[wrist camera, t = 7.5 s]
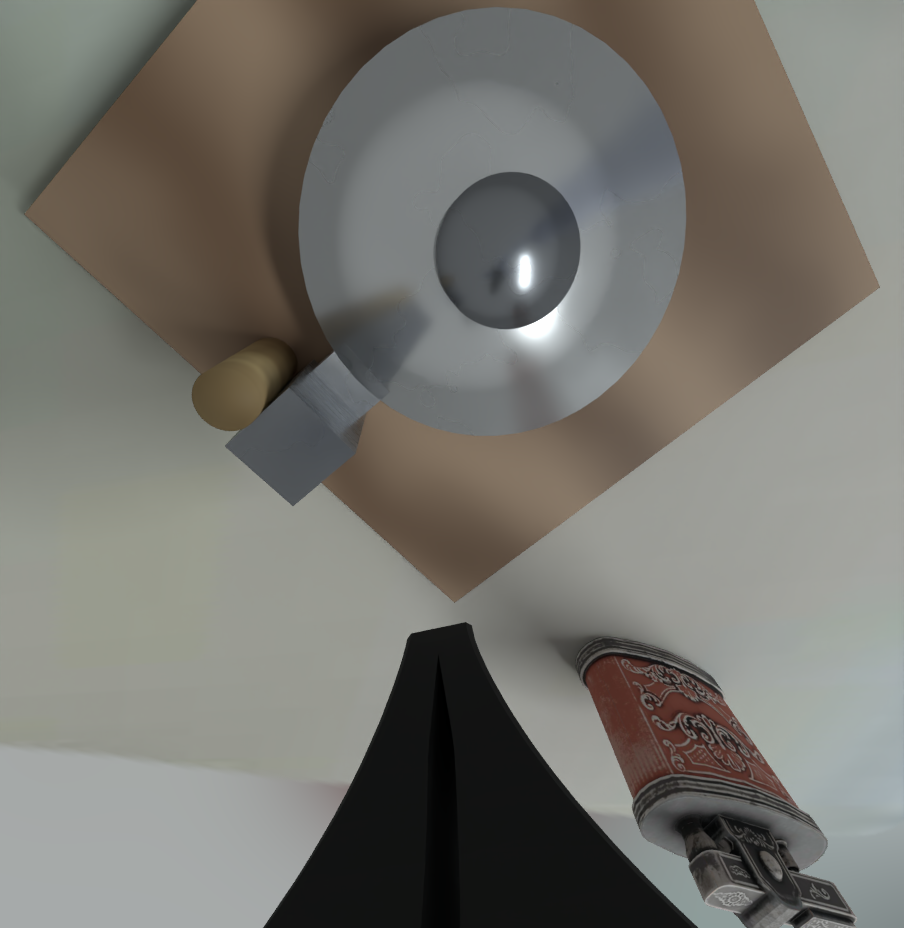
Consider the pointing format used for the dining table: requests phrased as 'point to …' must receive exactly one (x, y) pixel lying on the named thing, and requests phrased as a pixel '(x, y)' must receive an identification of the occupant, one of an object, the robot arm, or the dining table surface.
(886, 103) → the dining table surface
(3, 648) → the dining table surface
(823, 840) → the lighter
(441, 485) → the walnut board
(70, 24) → the dining table surface
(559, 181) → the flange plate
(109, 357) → the dining table surface
